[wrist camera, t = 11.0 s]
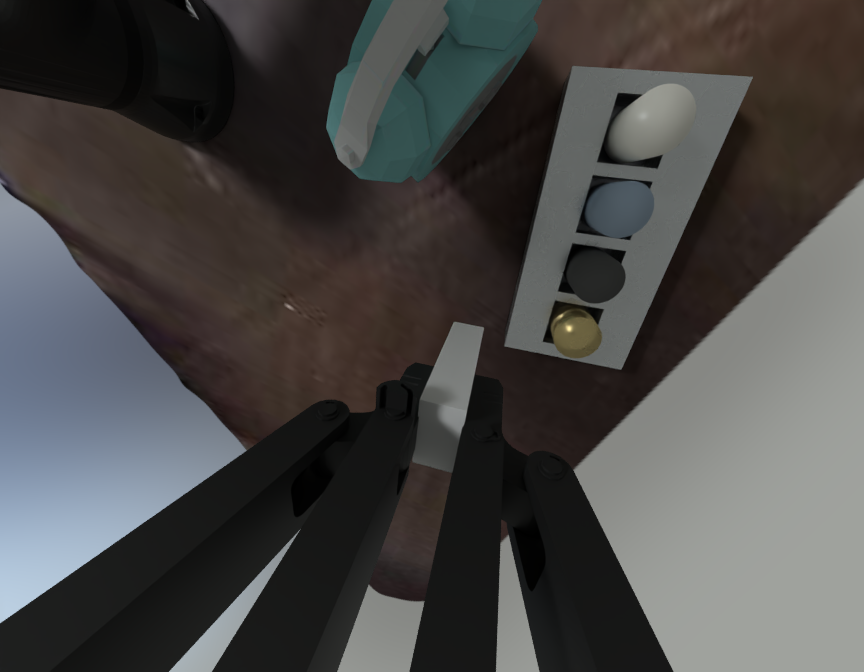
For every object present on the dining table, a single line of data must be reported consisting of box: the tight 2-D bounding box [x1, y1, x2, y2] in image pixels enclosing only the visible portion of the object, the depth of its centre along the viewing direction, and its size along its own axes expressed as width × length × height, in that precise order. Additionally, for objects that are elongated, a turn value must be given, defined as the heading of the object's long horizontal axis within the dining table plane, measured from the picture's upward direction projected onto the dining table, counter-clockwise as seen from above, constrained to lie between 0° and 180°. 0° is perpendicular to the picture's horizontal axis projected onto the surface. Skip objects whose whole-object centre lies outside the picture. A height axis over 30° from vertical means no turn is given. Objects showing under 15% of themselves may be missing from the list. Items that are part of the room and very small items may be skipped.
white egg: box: [604, 84, 696, 163], centre depth 25 cm, size 4×4×6 cm
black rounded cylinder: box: [563, 246, 626, 304], centre depth 31 cm, size 4×4×6 cm
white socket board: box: [504, 66, 753, 370], centre depth 32 cm, size 13×26×4 cm, turn 173°
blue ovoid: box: [581, 181, 654, 238], centre depth 28 cm, size 4×4×6 cm
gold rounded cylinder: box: [549, 301, 602, 358], centre depth 34 cm, size 4×4×6 cm
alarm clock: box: [326, 0, 542, 183], centre depth 23 cm, size 17×10×20 cm, turn 137°
